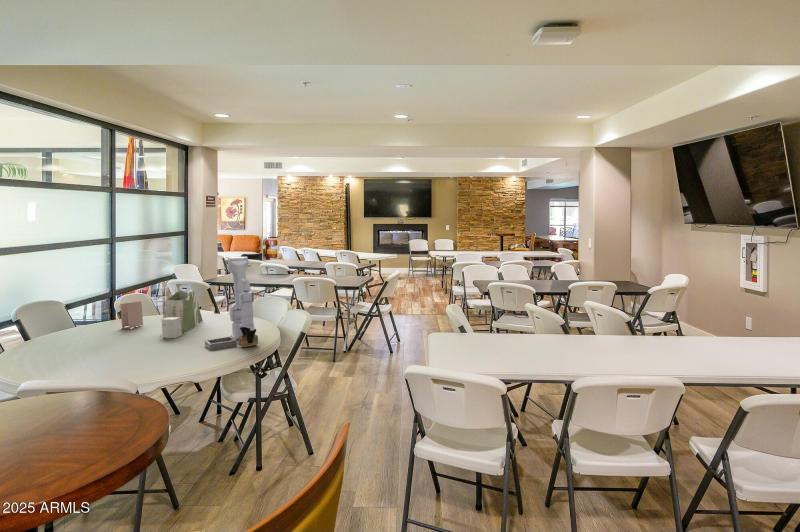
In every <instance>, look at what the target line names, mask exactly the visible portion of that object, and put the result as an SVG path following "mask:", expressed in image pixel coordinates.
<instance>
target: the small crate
mask: <svg viewBox="0 0 800 532" xmlns="http://www.w3.org/2000/svg"><path fill="white" fill-rule="evenodd" d="M238 345H239V346H240V347H241V348H246V347H251V346H257V345H258V346H259V336H258V334H256V333H255V334H254V338H253V343H248V341H247V336H246V335H244V336H239V339H238Z"/></svg>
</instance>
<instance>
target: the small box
mask: <svg viewBox="0 0 800 532" xmlns="http://www.w3.org/2000/svg"><path fill="white" fill-rule="evenodd" d="M160 321H161V329H162V330H161V331H162V338H163V337H166V338H165V339H178V338H179V337H181V336H182V334H183V333H181V321H180V317H167V318H164V319H163V318H162V319H161V320H160Z"/></svg>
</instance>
